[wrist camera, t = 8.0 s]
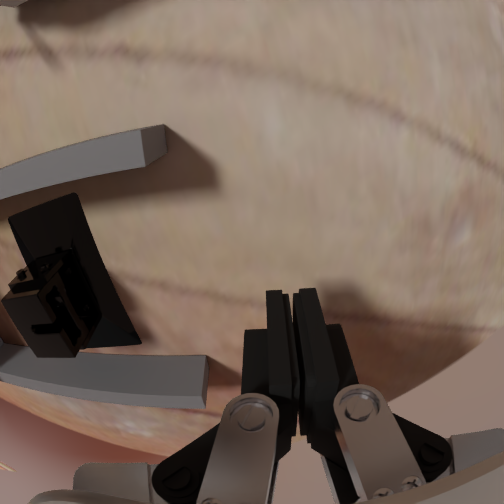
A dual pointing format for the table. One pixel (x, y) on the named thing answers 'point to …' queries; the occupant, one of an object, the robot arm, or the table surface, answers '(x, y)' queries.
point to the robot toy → (11, 2)
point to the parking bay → (91, 364)
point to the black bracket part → (63, 284)
